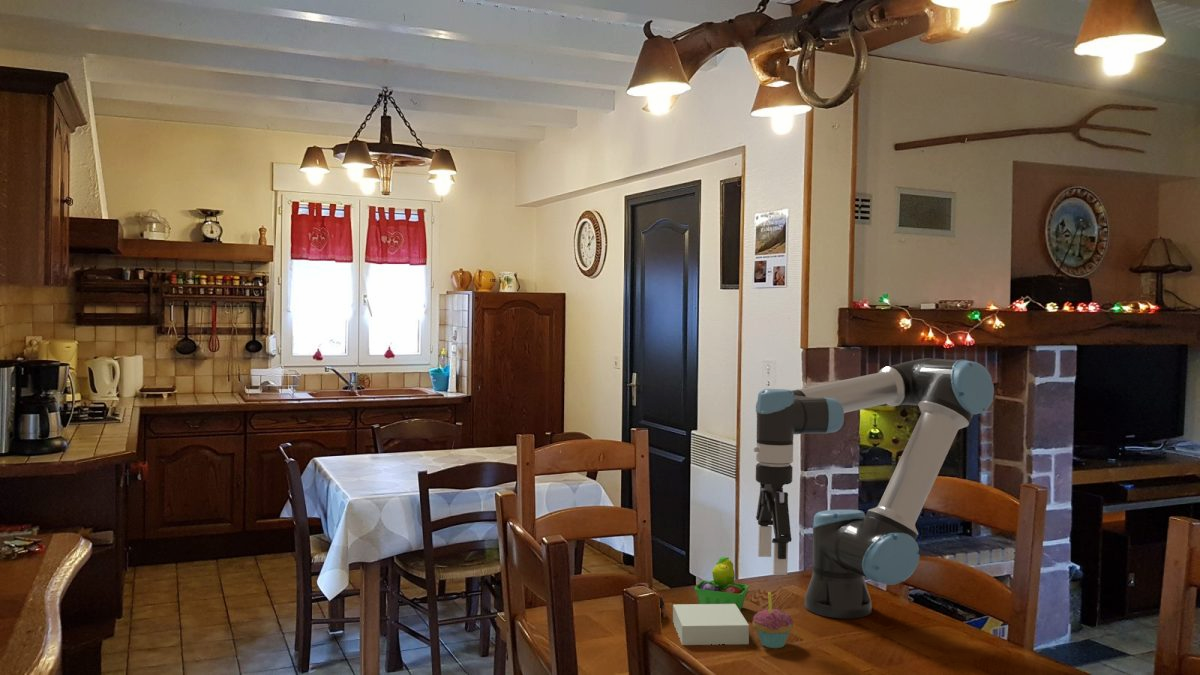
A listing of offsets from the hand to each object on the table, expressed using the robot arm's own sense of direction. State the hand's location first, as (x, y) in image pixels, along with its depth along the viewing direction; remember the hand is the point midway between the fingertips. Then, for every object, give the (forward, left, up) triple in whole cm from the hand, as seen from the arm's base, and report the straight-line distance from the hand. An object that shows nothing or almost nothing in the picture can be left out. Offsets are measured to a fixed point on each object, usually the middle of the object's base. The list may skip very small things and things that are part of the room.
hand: (772, 565), depth 189 cm
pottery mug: (+24, -20, -17) cm, 36 cm away
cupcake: (0, 0, -17) cm, 17 cm away
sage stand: (+12, -7, -17) cm, 21 cm away
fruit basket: (+6, -24, -17) cm, 30 cm away
